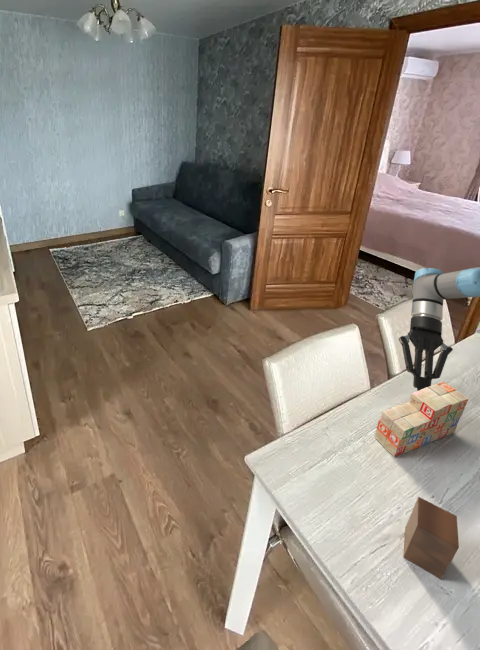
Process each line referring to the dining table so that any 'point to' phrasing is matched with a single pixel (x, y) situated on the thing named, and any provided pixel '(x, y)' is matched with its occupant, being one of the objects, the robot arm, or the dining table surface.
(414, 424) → the stack of blocks
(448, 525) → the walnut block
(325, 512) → the dining table surface
